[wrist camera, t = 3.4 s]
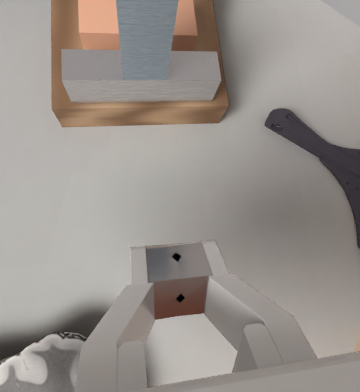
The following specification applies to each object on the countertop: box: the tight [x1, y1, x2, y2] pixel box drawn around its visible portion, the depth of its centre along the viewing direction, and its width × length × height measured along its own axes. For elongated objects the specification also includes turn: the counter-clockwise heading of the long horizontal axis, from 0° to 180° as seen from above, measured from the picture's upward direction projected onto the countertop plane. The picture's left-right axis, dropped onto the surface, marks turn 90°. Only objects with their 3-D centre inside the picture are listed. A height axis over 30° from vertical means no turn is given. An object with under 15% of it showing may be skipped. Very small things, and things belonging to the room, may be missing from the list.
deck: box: [51, 0, 229, 127], centre depth 25 cm, size 14×11×3 cm
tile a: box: [78, 0, 120, 50], centre depth 22 cm, size 4×4×2 cm
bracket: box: [265, 109, 360, 248], centre depth 26 cm, size 14×15×3 cm
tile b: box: [171, 0, 198, 51], centre depth 23 cm, size 4×4×2 cm
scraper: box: [61, 0, 221, 103], centre depth 16 cm, size 11×2×13 cm, turn 96°
